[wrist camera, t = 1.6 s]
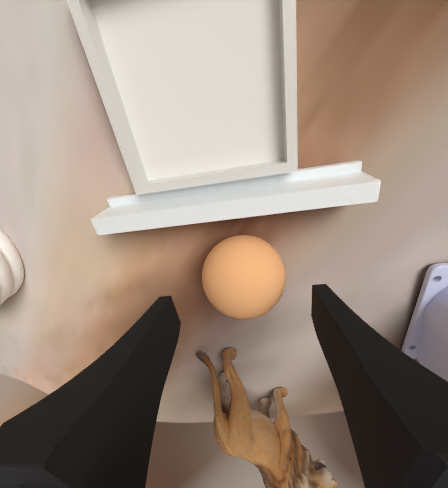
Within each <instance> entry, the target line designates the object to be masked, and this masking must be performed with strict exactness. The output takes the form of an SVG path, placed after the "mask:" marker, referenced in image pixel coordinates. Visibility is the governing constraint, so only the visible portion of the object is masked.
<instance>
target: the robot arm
mask: <svg viewBox="0 0 448 488" xmlns="http://www.w3.org/2000/svg"><path fill="white" fill-rule="evenodd" d="M434 277H435V278H434ZM311 316H312V319H313V323H314V327H315V331H316V334H317V337H318V340H319V343H320V345H321V348H322V350H323V353H324V355H325V358H326V361H327V363H328V366H329V368H330V371H331V373H332V376H333V378H334V381H335V384H336V387H337V389H338V392H339V395H340V399H341V402H342V406H343V409H344V412H345V416H346V419H347V422H348V426H349V430H350V433H351V437H352V441H353V444H354V448H355V452H356V455H357V459H358V463H359V466H360V470H361V474H362V478H363V481H364V486H365V488H448V263H439V264H434V265H432V266H430V267H429V268H428V270H427V272H426V275H425V278H424V281H423V284H422V288H421V291H420V294H419V297H418V300H417V303H416V306H415V309H414V312H413V316H412V319H411V322H410V325H409V328H408V331H407V334H406V337H405V340H404V343H403V347H402V350H399V349H398V348H397V347H395V346H394V345H393V344H391V343H390V342H389V341H387V340H386V339H385V338H384V337H382V336H381V335H380V334H379V333H377V332H376V331H375V330H374V329H373V328H371V327H370V326H369V325H368V324H367V323H366V322H364V321H363V320H362V319H361V318H360V317H359V316H358V315H357V314H356V313H355V312H353V311H352V310H351V309H350V308H349V307H348V306H347V305H346V304H345V303H344V302H343V301H342V300H341V299H340V298H339V297H338V296H337V295H336V294H335V293H334V292H333V291H332V290H331V289H330V288H329V287H328V286H327V285H326V284H320V285H312V315H311ZM180 325H181V322H180V320H179V317H178V314H177V311H176V309H175V306H174V303H173V300H172V298H171V296H164V297H159V298H158V299H157V300H156V301H155V303H154V304H153V305H152V306H151V307H150V308H149V309H148V310H147V311H146V312H145V313H144V314H143V316H142V317H141V318H140V319H139V320H138V321H137V322H136V323H135V324H134V325H133V326H132V327H131V328H130V329H129V330H128V331H127V332H126V333H125V334H124V335H123V336H122V337H121V338H120V339H119V340H118V341H117V342H116V343H115V344H114V345H113V346H112V347H111V348H109V349H108V350H107V351H106V352H105V353H104V354H103V355H101V356H100V357H99V358H98V359H97V360H96V361H94V362H93V363H92V364H91V365H89V366H88V367H87V368H85V369H84V370H83V371H82V372H80V373H79V374H78V375H76V376H75V377H74V378H72V379H71V380H70V381H68V382H67V383H66V384H64V385H63V386H61V387H60V388H58V389H57V390H56V391H54V392H53V393H51V394H50V395H48V396H47V397H45V398H44V399H42V400H40V401H39V402H37V403H36V404H34V405H33V406H31V407H29V408H28V409H26V410H24V411H23V412H21V413H19V414H18V415H16V416H14V417H13V418H11V419H10V420H8V421H6V422H4V423H3V424H2V425H1V427H0V488H145V484H146V478H147V471H148V464H149V457H150V452H151V446H152V440H153V435H154V429H155V424H156V419H157V414H158V409H159V405H160V400H161V395H162V392H163V388H164V384H165V381H166V378H167V375H168V371H169V368H170V365H171V362H172V359H173V355H174V352H175V349H176V345H177V342H178V337H179V331H180ZM413 359H417V360H418V362H419V363H418V362H416V361H415V360H413Z"/></svg>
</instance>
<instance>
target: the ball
mask: <svg viewBox="0 0 448 488" xmlns="http://www.w3.org/2000/svg"><path fill="white" fill-rule="evenodd" d="M285 277H286V275H285V268H284V265H283V262H282V260H281V258H280V256H279V254H278V253H277V251H276V250H275V249H274V248H273V247H272V246H271V245H270V244H268V243H267V242H266V241H264V240H262V239H260V238H257V237H254V236H249V235H237V236H232V237H229V238H227V239H224V240H223V241H221V242H220V243H218V244H217V245H216V246H215V247H214V248H213V249H212V250H211V251H210V253H209V254H208V256H207V258H206V260H205V262H204V265H203V270H202V283H203V288H204V291H205V294H206V296H207V297H208V299H209V301H210V302H211V303H212V305H213V306H214V307H215V308H216V309H218V310H219V311H220V312H222V313H223V314H225V315H227V316H230V317H233V318H237V319H251V318H256V317H259V316H261V315H263V314H265V313H267V312H268V311H270V310H271V309H272V308H273V307H274V306H275V305H276V304H277V302H278V301H279V299H280V297H281V296H282V293H283V290H284V287H285Z"/></svg>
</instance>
